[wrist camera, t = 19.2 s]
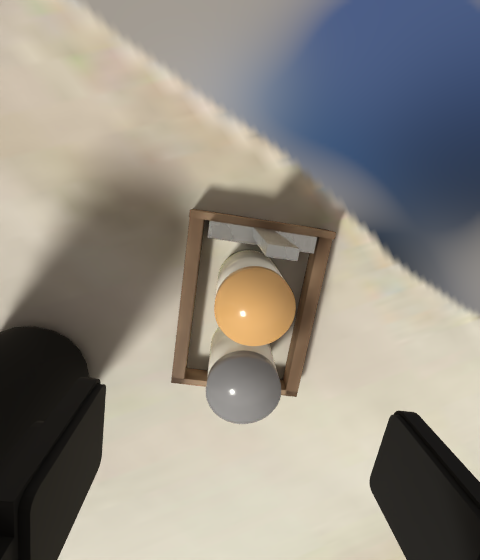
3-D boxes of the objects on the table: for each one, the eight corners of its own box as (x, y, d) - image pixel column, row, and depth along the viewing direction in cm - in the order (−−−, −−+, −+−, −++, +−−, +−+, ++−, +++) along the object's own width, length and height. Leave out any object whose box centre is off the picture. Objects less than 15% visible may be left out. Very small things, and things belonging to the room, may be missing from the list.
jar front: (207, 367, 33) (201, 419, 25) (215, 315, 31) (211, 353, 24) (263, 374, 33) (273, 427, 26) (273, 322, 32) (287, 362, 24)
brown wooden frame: (174, 371, 33) (170, 385, 30) (193, 208, 29) (189, 209, 26) (292, 385, 34) (297, 399, 31) (327, 229, 30) (336, 232, 27)
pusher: (209, 233, 29) (196, 259, 17) (211, 218, 29) (199, 233, 17) (305, 248, 30) (358, 282, 18) (308, 233, 29) (364, 258, 17)
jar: (211, 301, 31) (206, 336, 23) (226, 243, 30) (225, 260, 22) (268, 314, 32) (282, 353, 24) (286, 258, 30) (306, 280, 22)
